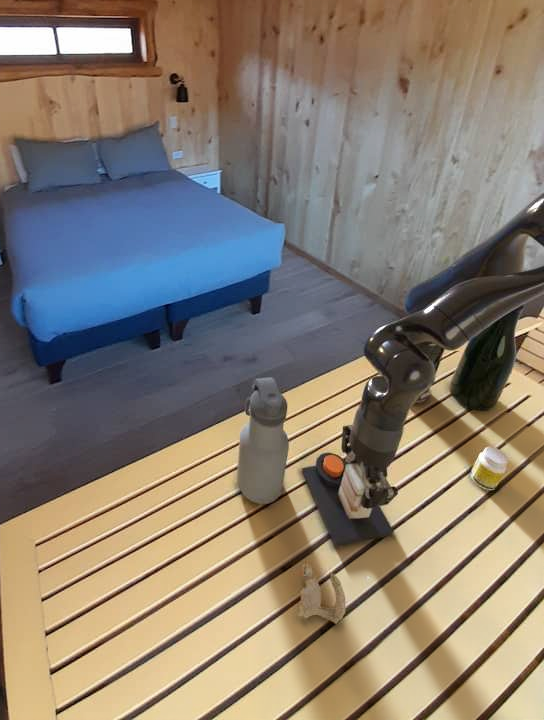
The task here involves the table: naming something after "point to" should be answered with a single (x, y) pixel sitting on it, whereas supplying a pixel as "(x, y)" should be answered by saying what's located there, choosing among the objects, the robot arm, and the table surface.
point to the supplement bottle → (489, 468)
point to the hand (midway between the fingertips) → (358, 489)
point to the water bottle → (263, 444)
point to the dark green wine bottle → (486, 364)
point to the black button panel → (341, 508)
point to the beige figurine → (313, 598)
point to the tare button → (333, 466)
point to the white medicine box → (353, 492)
